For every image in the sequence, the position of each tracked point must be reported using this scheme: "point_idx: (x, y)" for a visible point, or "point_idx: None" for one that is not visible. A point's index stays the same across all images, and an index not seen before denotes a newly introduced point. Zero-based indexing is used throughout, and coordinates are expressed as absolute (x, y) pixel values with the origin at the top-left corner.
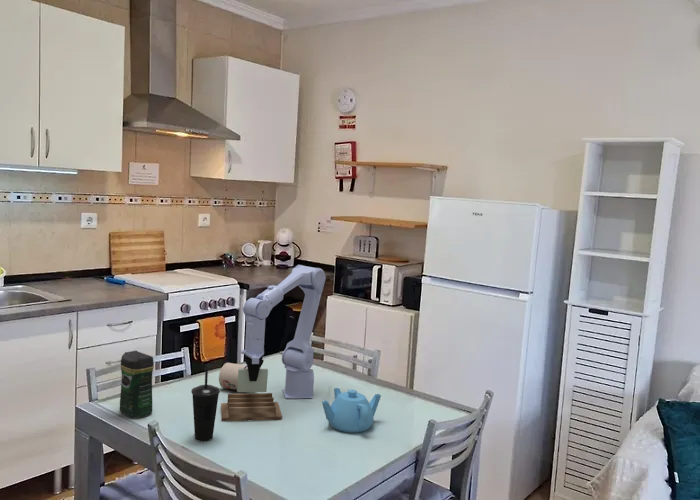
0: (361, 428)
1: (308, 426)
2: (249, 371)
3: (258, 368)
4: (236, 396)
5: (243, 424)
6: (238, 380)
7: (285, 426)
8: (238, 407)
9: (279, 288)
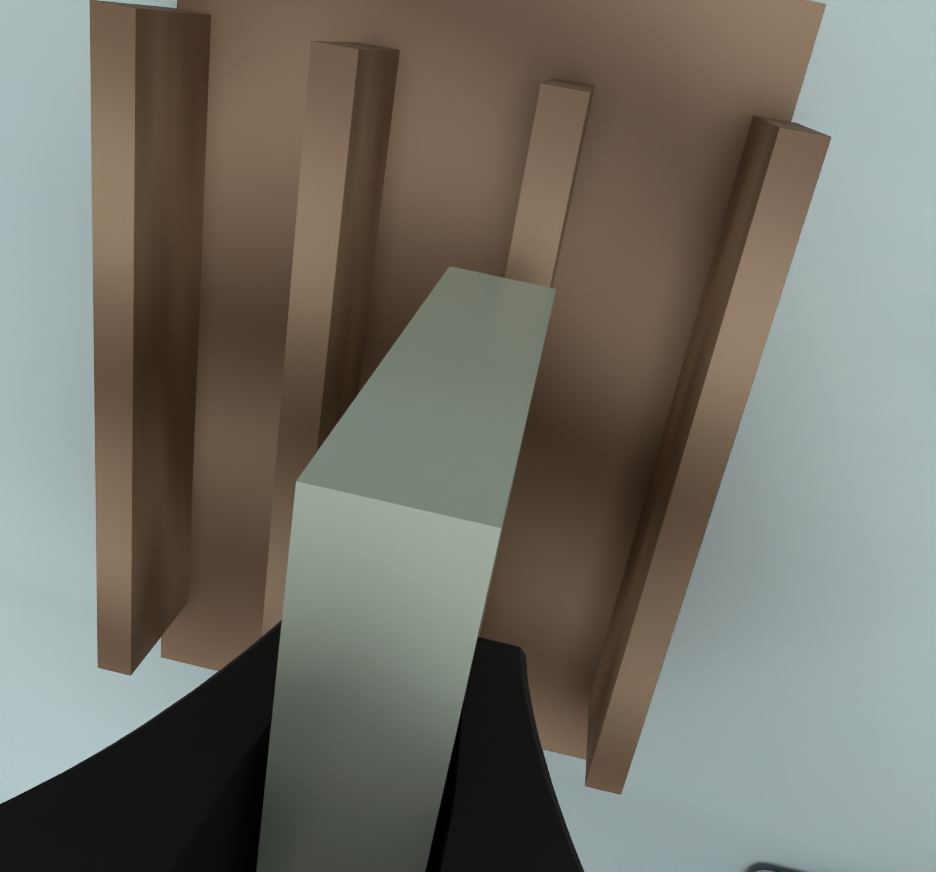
0: None
1: (7, 777)
2: (131, 754)
3: None
4: (728, 284)
5: (82, 195)
6: (392, 359)
7: (12, 606)
8: (119, 176)
9: None
